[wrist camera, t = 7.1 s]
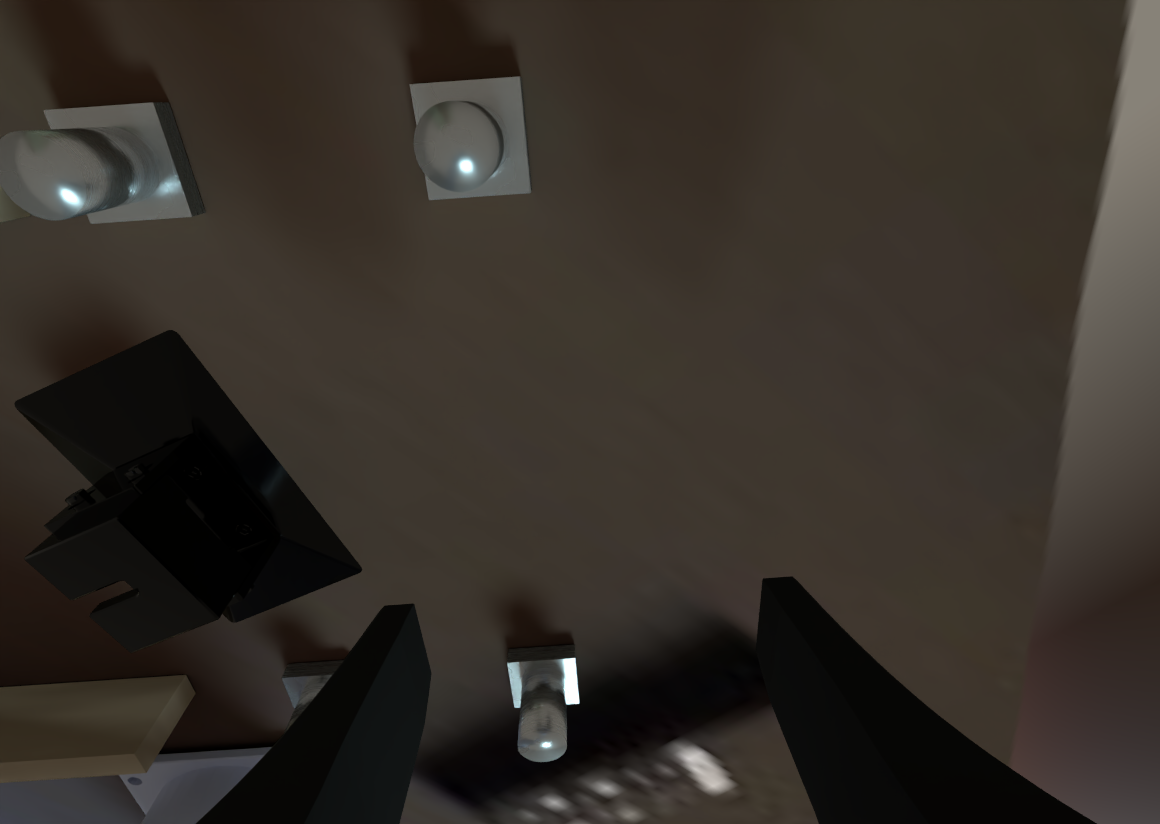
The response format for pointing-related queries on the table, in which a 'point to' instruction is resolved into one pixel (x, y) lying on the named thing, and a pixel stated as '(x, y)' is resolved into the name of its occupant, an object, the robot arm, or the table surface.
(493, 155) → the guide pins
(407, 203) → the table surface
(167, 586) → the black boxy piece
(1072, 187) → the table surface
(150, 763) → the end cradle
